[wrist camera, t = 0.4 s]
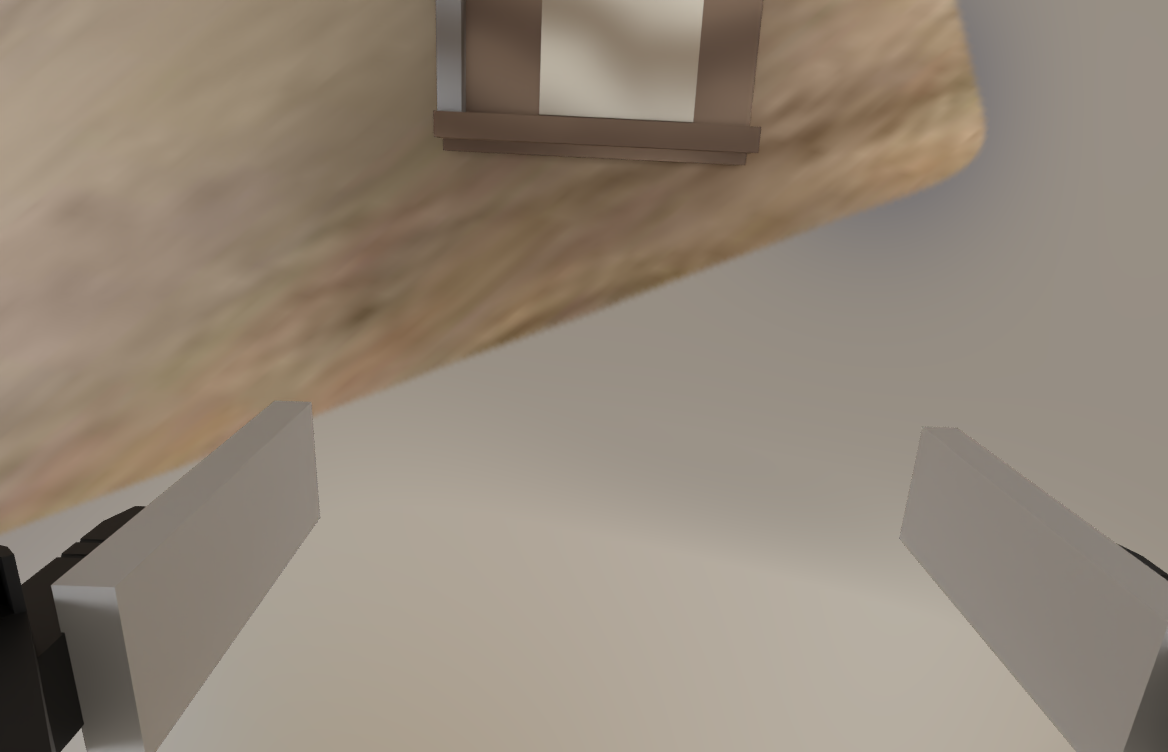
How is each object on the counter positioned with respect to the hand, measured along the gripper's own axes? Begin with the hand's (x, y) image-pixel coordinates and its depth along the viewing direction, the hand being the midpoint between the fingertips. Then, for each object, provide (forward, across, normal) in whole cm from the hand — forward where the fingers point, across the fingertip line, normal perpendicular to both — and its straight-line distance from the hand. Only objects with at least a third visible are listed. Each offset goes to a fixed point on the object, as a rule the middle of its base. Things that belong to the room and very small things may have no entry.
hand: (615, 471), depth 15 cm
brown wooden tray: (+27, 0, +12) cm, 29 cm away
